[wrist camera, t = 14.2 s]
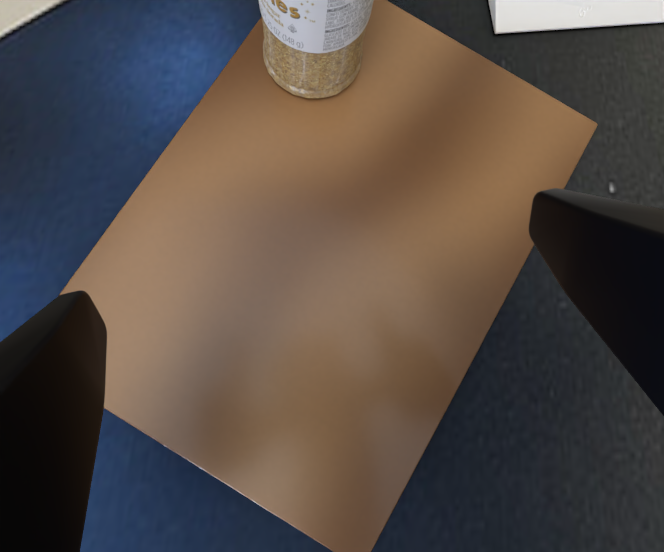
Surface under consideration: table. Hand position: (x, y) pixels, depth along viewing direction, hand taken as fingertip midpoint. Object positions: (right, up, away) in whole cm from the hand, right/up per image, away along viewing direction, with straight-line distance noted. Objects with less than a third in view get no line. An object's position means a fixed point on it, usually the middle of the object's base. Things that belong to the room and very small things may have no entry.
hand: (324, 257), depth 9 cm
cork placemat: (0, +2, +11) cm, 11 cm away
